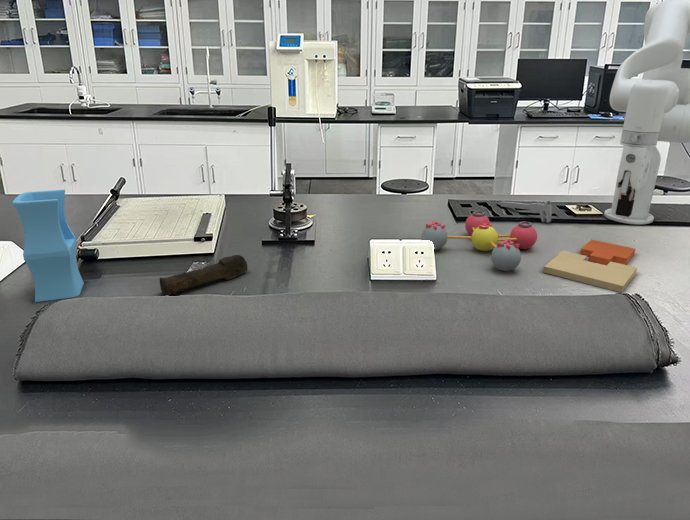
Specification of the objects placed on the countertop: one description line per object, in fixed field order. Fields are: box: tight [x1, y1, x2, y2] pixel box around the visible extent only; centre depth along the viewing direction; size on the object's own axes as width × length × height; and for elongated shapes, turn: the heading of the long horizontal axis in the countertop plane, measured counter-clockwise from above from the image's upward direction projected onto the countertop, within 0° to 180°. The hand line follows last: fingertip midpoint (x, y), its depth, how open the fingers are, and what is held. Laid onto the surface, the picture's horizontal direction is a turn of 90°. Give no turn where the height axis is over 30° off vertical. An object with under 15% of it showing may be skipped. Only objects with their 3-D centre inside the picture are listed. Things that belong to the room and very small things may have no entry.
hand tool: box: [159, 254, 248, 296], centre depth 110 cm, size 19×4×5 cm, turn 127°
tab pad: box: [579, 239, 636, 266], centre depth 125 cm, size 11×10×2 cm
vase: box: [12, 189, 84, 303], centre depth 104 cm, size 8×8×20 cm
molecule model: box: [420, 210, 538, 272], centre depth 127 cm, size 25×21×6 cm
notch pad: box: [543, 250, 638, 293], centre depth 116 cm, size 12×16×2 cm
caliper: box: [497, 200, 553, 223], centre depth 154 cm, size 20×1×6 cm, turn 27°
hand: (623, 214), depth 129 cm, fingers closed
